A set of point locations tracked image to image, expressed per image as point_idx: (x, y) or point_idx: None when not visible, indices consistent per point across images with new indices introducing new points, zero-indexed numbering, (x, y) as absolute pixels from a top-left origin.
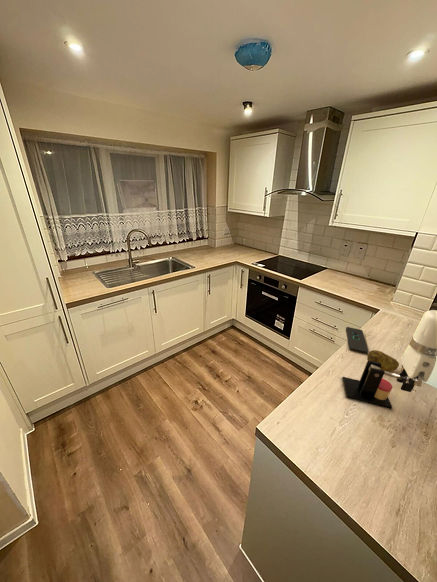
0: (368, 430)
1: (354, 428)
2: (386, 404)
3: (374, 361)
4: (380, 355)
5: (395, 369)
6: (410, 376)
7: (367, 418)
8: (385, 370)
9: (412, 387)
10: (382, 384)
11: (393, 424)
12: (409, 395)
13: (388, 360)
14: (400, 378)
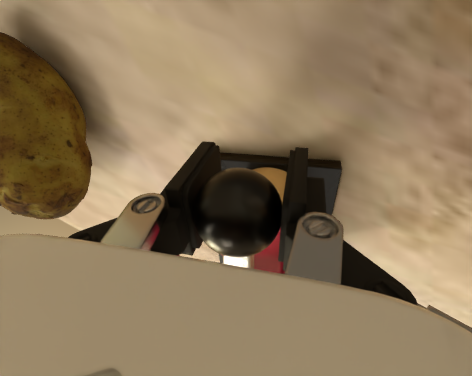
0: (465, 272)
1: (453, 302)
2: (330, 187)
3: (77, 196)
4: (19, 193)
5: (30, 54)
6: None
7: (405, 257)
8: (80, 113)
9: (306, 180)
10: (266, 253)
11: (437, 181)
12: (200, 17)
13: (12, 132)
14: (251, 265)
